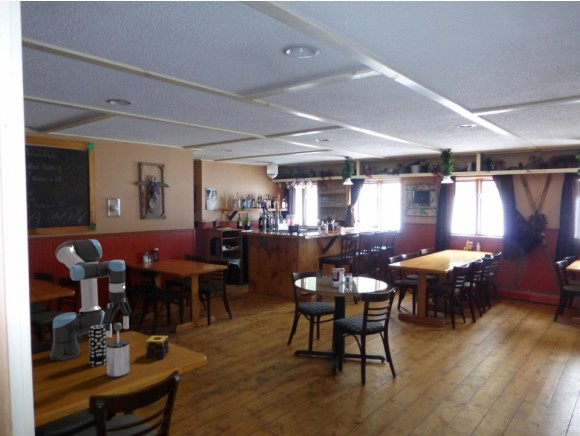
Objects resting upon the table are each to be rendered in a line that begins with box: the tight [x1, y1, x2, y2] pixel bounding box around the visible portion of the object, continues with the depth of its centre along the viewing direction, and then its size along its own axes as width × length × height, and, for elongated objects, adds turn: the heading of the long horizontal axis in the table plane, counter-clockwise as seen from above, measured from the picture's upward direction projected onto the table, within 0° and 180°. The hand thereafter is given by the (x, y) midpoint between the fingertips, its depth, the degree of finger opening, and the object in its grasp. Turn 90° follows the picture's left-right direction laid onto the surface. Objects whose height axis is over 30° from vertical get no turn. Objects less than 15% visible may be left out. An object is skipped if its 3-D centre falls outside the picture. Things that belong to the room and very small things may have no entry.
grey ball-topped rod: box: [113, 322, 123, 343], centre depth 213 cm, size 8×8×24 cm
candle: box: [145, 335, 170, 360], centre depth 238 cm, size 10×10×10 cm
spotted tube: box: [88, 324, 107, 367], centre depth 226 cm, size 8×8×20 cm
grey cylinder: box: [106, 338, 130, 379], centre depth 215 cm, size 10×13×16 cm
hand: (117, 332), depth 213 cm, fingers open, 13 cm apart
